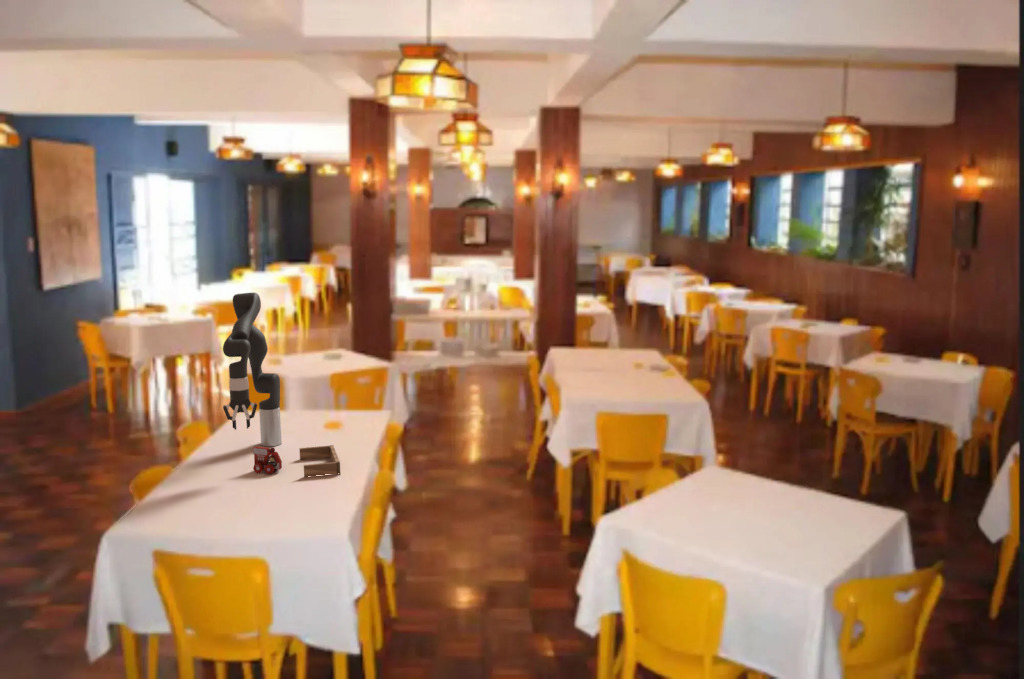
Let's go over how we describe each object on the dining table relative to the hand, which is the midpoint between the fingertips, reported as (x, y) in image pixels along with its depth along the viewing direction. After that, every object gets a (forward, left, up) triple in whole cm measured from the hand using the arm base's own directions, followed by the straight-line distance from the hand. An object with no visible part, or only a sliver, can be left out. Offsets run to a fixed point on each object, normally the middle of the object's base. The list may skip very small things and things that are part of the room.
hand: (241, 428), depth 373 cm
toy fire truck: (0, +9, -20) cm, 22 cm away
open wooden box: (0, +30, -19) cm, 36 cm away
